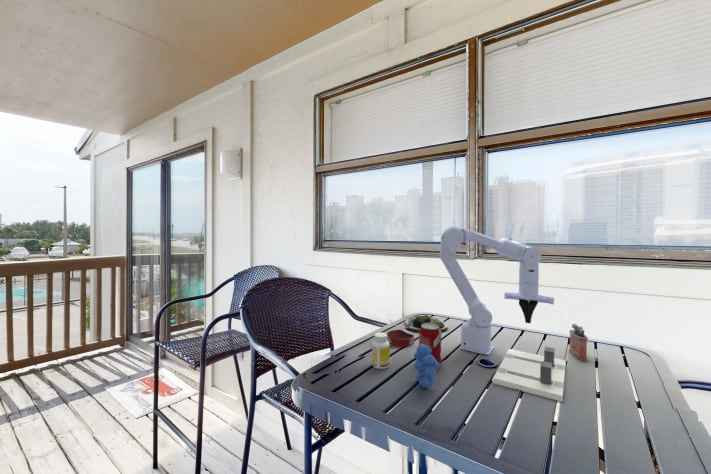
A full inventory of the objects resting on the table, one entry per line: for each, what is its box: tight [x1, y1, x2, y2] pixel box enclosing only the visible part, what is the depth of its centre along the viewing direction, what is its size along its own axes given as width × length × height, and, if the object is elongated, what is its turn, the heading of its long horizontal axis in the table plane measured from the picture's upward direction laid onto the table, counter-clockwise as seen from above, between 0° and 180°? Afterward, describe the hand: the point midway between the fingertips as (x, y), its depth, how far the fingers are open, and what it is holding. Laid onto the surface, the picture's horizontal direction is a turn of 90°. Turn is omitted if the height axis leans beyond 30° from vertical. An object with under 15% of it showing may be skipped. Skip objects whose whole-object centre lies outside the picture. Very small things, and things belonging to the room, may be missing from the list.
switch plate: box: [492, 348, 567, 403], centre depth 92 cm, size 16×24×2 cm, turn 145°
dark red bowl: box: [386, 318, 415, 348], centre depth 118 cm, size 11×10×10 cm
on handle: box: [543, 346, 556, 367], centre depth 95 cm, size 2×4×4 cm, turn 145°
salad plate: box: [405, 314, 449, 333], centre depth 136 cm, size 19×18×5 cm
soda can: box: [418, 322, 442, 365], centre depth 99 cm, size 7×7×12 cm
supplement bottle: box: [371, 331, 391, 370], centre depth 98 cm, size 5×5×10 cm
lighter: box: [568, 323, 589, 363], centre depth 104 cm, size 8×3×10 cm, turn 168°
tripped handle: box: [540, 361, 552, 385], centre depth 85 cm, size 2×4×4 cm, turn 145°
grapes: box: [413, 344, 441, 389], centre depth 85 cm, size 12×7×12 cm, turn 8°
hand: (528, 322), depth 107 cm, fingers closed
